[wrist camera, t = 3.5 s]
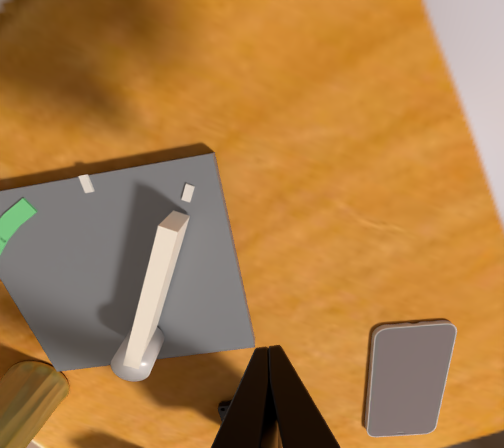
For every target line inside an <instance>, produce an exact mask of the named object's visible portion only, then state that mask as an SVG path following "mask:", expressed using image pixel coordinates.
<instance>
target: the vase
mask: <svg viewBox="0 0 504 448" xmlns="http://www.w3.org/2000/svg"><path fill="white" fill-rule="evenodd" d="M68 394H69V383H68V381H67V379H66V378H65V376H64V375H63V374H62V373H61V372H60V371H59V372H57V371H56V369H55V368H54V367H52V366H50V365H48V364H45V363H42V362H37V361H24V362H20V363H17V364H15V365H13V366H12V367H10V368H9V369H8V371H7V372H6V373H5V375H4V376H3V377H2V379H1V380H0V448H26V447H27V446H28V444H29V443H30V442H31V440H32V439H33V438H34V437H35V435H36V434H37V433H38V431H39V430H40V429H41V428H42V426H43V425H44V424H45V422H46V421H47V420H48V418H49V417H50V416H51V414H52V413H53V412H54V410H55V409H56V408H57V407H58V405H59V404H60V403H61V402H62V401H63V400H64V399H65V398H66V397H67V396H68Z"/></svg>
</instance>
